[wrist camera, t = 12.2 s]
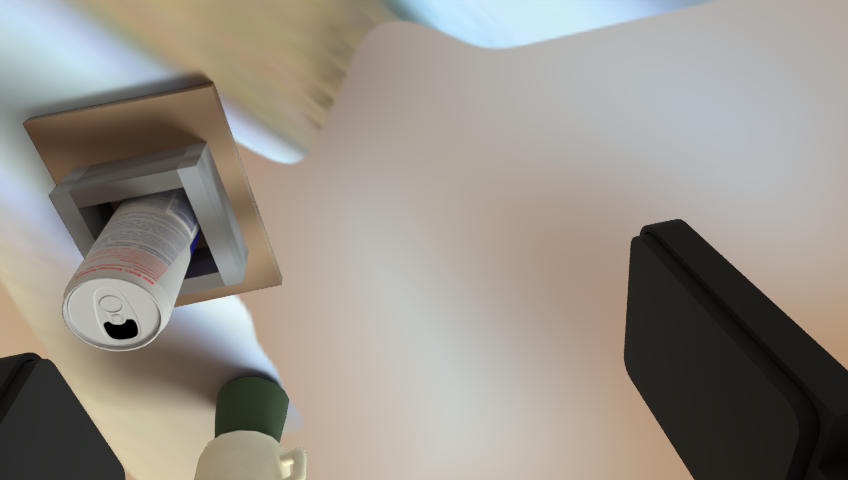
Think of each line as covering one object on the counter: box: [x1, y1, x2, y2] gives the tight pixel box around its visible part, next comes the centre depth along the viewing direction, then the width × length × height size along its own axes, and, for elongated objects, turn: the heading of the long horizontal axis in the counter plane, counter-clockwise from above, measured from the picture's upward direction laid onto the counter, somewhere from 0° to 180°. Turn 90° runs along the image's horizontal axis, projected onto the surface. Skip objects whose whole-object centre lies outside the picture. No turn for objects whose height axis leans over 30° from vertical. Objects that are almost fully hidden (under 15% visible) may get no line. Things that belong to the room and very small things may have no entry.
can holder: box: [23, 83, 282, 308], centre depth 40 cm, size 16×12×5 cm
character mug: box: [194, 377, 306, 480], centre depth 47 cm, size 11×7×13 cm, turn 111°
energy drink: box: [62, 187, 201, 351], centre depth 36 cm, size 5×5×12 cm
